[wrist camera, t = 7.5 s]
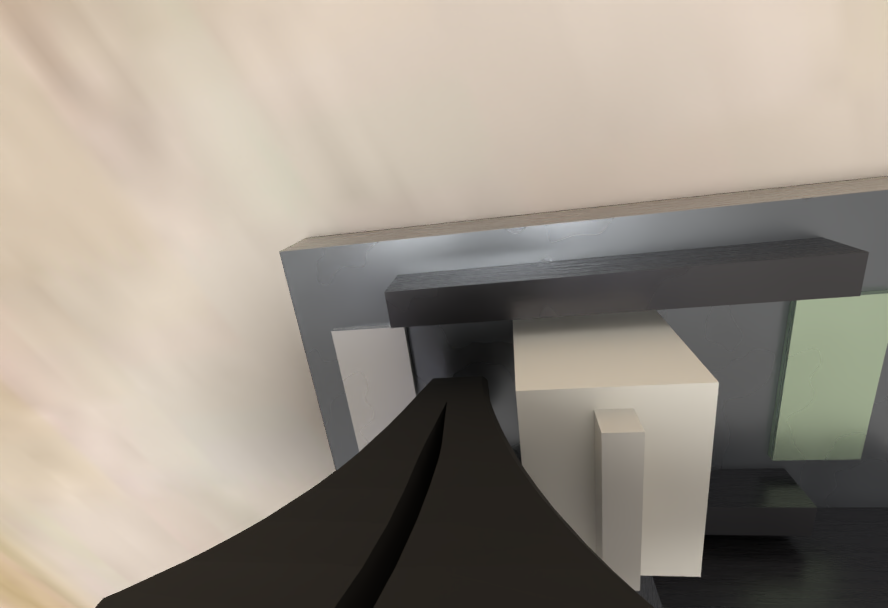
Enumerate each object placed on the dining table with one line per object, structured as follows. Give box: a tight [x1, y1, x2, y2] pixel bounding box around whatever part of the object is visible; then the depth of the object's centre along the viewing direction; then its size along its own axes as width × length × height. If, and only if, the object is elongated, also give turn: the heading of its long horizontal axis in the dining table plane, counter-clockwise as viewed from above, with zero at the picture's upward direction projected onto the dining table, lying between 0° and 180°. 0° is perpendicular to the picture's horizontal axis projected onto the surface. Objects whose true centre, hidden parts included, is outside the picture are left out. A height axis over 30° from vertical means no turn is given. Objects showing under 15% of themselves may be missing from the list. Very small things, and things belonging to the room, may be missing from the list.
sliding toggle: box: [513, 310, 719, 591], centre depth 9 cm, size 4×3×4 cm
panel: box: [280, 176, 888, 608], centre depth 10 cm, size 15×20×5 cm
